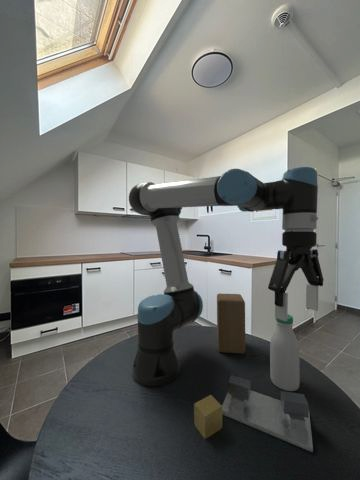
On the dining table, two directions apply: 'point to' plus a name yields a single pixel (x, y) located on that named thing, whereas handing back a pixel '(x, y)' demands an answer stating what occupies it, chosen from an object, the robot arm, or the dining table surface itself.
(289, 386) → the milk bottle
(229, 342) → the wooden block
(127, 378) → the dining table surface
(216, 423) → the gold cube-like block
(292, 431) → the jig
